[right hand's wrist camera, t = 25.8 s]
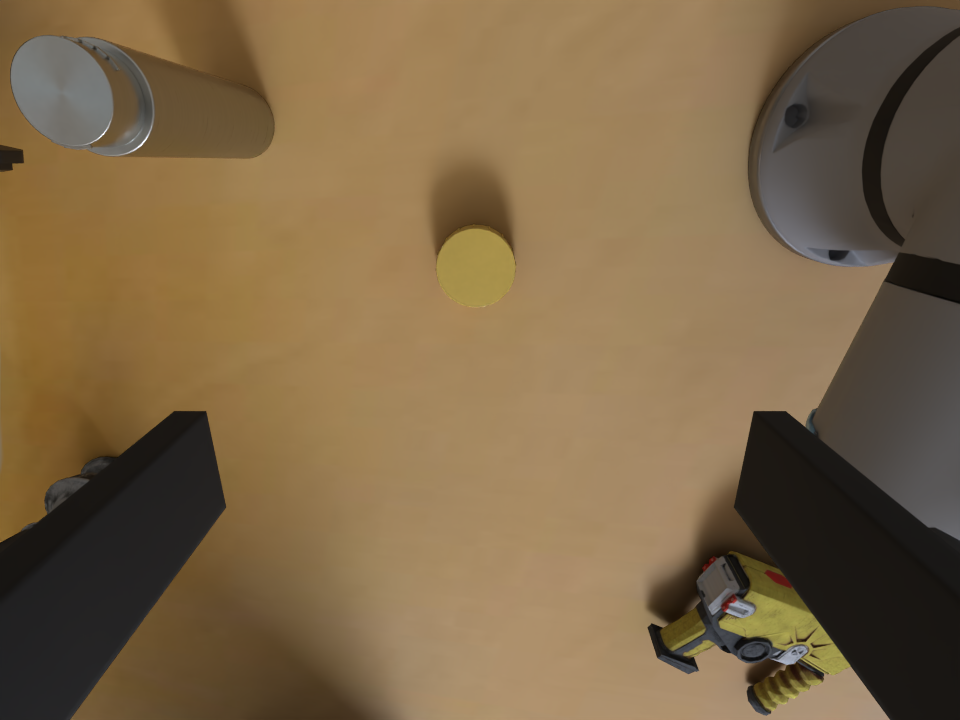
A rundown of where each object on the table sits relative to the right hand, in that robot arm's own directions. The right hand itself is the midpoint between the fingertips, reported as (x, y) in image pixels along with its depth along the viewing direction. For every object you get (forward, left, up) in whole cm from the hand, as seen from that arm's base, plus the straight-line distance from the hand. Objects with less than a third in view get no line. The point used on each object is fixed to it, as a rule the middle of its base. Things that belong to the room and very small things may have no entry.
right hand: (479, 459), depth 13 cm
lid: (0, 0, -25) cm, 25 cm away
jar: (+9, -16, -26) cm, 32 cm away
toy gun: (-7, +45, -26) cm, 53 cm away
